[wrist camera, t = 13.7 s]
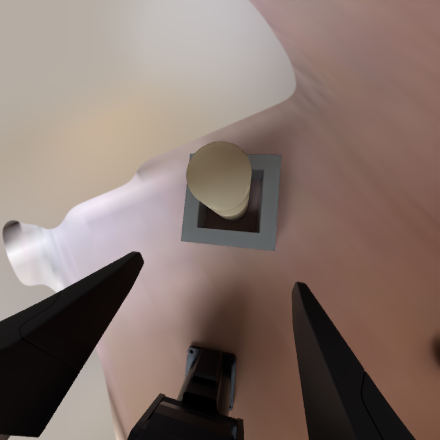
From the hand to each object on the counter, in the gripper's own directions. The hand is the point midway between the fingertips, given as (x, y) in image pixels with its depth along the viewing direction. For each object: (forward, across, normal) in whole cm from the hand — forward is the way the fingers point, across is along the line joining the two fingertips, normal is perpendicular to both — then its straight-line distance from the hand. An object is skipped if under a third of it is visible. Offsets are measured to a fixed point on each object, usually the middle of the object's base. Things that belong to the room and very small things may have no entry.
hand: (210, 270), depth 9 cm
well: (+14, +1, +4) cm, 15 cm away
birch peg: (+14, +1, +4) cm, 15 cm away
